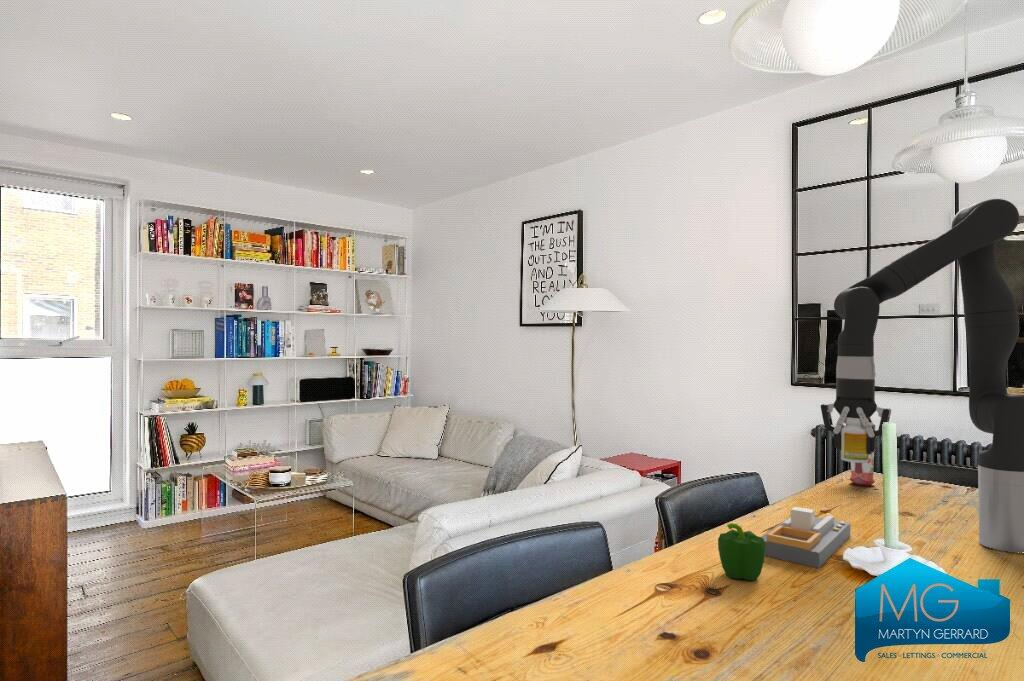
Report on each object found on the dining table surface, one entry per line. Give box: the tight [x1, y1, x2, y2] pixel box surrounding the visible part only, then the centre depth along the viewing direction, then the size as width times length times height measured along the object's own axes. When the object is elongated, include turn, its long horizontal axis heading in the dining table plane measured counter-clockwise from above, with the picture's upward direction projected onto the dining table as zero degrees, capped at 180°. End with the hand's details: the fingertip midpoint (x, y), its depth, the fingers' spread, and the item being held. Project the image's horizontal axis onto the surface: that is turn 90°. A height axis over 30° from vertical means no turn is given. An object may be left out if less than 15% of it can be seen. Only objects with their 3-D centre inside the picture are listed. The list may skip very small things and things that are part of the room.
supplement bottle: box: [840, 417, 869, 463], centre depth 133 cm, size 5×5×10 cm
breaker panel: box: [760, 514, 851, 569], centre depth 130 cm, size 12×26×5 cm, turn 138°
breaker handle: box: [790, 506, 816, 532], centre depth 128 cm, size 4×3×5 cm
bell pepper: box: [717, 522, 766, 581], centre depth 112 cm, size 8×8×10 cm
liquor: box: [849, 423, 876, 487], centre depth 186 cm, size 7×7×28 cm
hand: (854, 451), depth 133 cm, fingers closed on supplement bottle, 5 cm apart
